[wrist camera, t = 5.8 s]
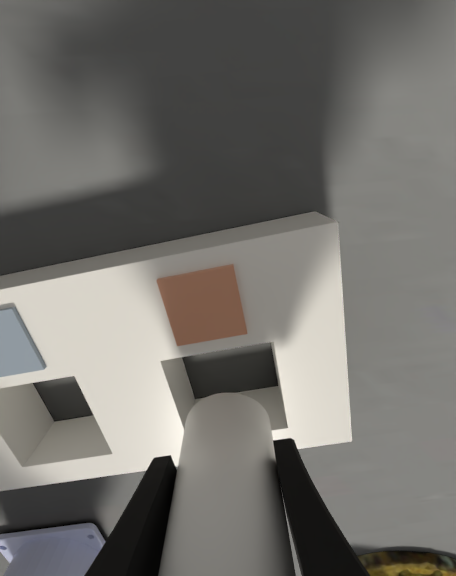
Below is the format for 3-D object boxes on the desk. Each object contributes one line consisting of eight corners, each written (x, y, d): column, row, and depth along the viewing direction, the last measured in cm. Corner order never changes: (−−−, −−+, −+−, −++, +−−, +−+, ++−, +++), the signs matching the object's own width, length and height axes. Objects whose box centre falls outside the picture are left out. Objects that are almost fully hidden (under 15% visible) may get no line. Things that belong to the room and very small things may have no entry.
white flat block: (331, 397, 17) (353, 444, 14) (20, 445, 19) (-19, 497, 16) (315, 211, 13) (340, 222, 10) (-79, 291, 15) (-157, 322, 12)
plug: (279, 453, 13) (334, 754, 6) (194, 465, 13) (156, 764, 6) (267, 382, 11) (319, 670, 5) (171, 397, 11) (95, 687, 5)
